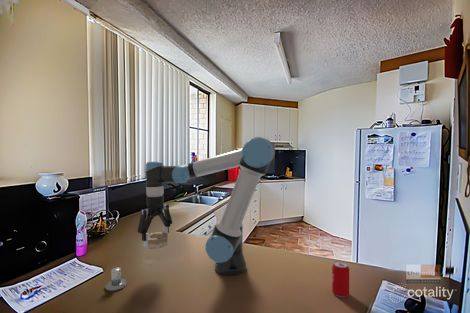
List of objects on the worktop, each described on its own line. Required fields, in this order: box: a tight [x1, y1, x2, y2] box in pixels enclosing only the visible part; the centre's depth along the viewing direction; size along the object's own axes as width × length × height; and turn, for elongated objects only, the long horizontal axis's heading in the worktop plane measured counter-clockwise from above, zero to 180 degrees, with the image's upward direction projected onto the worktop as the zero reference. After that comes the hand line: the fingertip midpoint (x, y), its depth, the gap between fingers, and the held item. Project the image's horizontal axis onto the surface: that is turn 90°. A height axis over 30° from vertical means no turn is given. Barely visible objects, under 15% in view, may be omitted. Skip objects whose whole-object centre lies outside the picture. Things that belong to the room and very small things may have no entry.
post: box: [104, 266, 128, 292], centre depth 102 cm, size 8×8×7 cm
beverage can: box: [331, 260, 350, 299], centre depth 96 cm, size 6×6×12 cm
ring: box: [148, 231, 169, 250], centre depth 112 cm, size 10×10×4 cm
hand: (156, 243), depth 112 cm, fingers closed on ring, 10 cm apart
